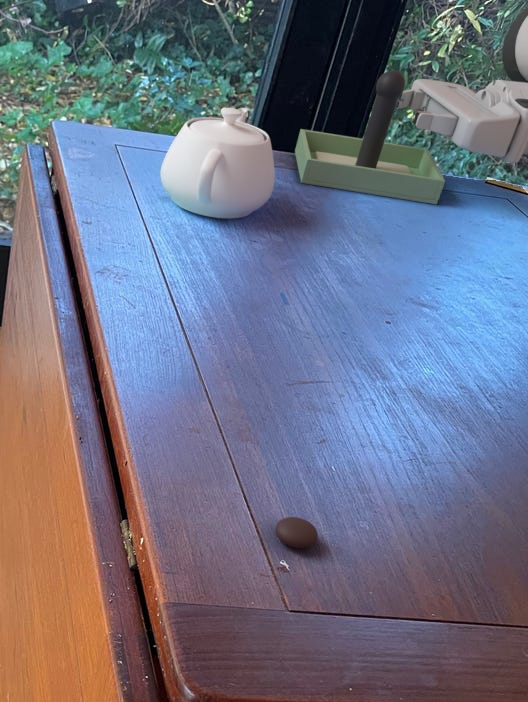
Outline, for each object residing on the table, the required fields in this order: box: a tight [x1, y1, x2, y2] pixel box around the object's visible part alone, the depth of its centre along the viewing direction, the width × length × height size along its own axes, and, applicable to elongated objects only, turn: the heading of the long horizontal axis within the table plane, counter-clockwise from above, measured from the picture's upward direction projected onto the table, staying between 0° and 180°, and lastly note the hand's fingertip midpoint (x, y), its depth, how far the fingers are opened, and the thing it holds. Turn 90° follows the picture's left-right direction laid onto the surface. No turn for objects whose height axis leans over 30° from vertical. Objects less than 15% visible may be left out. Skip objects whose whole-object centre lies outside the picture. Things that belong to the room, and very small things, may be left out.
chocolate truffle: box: [275, 516, 319, 549], centre depth 70 cm, size 3×3×2 cm
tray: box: [294, 128, 446, 205], centre depth 136 cm, size 18×14×3 cm
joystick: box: [315, 69, 411, 174], centre depth 133 cm, size 13×9×13 cm
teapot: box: [159, 107, 276, 219], centre depth 118 cm, size 22×14×11 cm, turn 162°
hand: (402, 108), depth 132 cm, fingers open, 8 cm apart
